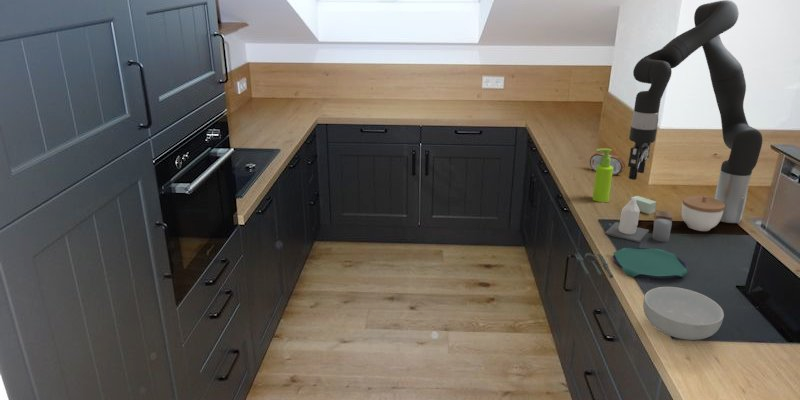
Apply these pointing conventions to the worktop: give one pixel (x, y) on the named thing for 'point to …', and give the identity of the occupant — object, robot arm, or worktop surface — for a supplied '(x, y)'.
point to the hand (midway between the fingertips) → (636, 175)
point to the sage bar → (645, 204)
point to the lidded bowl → (702, 212)
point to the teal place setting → (643, 263)
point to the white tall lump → (629, 217)
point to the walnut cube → (663, 215)
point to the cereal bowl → (682, 312)
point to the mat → (635, 237)
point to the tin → (615, 162)
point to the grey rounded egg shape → (662, 230)
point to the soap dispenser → (603, 177)
